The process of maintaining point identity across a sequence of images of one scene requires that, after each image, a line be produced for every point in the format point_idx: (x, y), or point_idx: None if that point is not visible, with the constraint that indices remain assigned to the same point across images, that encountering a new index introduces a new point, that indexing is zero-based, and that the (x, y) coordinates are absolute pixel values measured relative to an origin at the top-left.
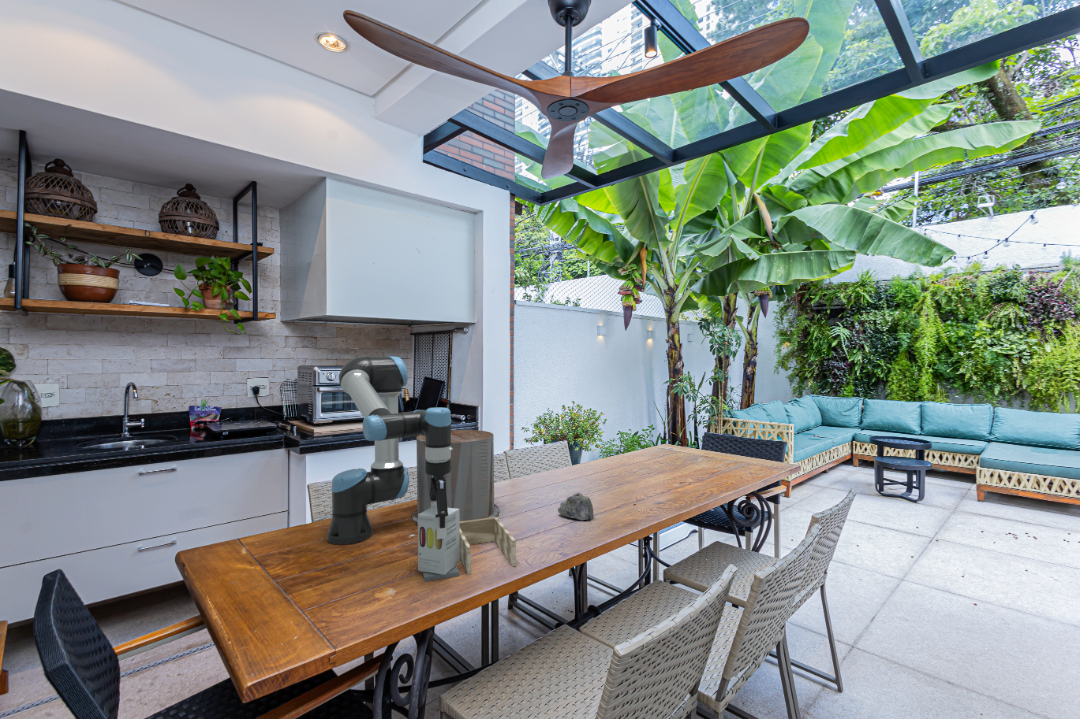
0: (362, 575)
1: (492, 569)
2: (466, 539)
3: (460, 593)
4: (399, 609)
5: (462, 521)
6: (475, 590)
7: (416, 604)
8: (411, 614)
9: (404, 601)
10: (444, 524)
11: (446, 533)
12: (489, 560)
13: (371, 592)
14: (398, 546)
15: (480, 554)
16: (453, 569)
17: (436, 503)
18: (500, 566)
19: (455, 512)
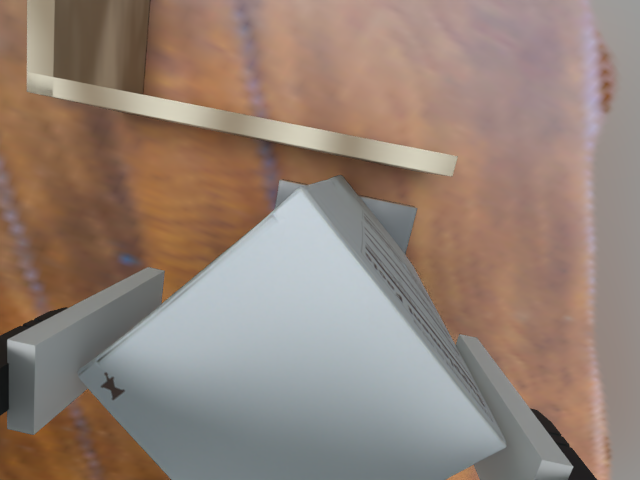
0: None
1: (443, 56)
2: (127, 50)
3: (550, 257)
4: None
5: (32, 32)
6: (568, 201)
7: None
8: (570, 431)
9: None
10: (558, 440)
11: (489, 355)
12: (350, 28)
13: None
14: (41, 307)
15: (268, 39)
16: (382, 220)
17: (54, 365)
18: (438, 7)
19: (362, 258)
